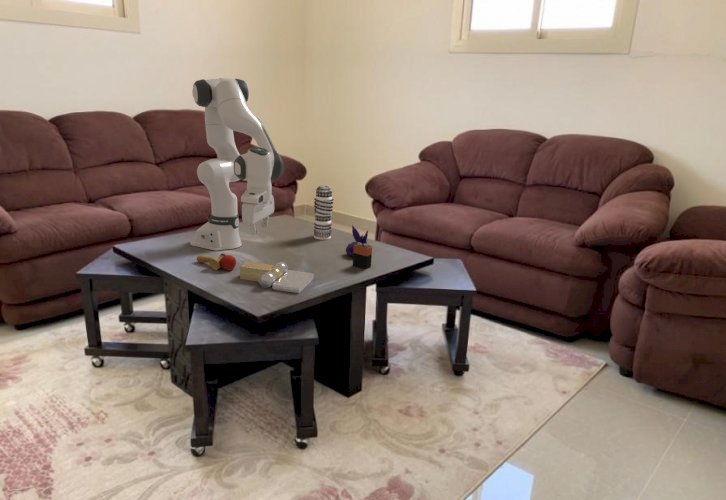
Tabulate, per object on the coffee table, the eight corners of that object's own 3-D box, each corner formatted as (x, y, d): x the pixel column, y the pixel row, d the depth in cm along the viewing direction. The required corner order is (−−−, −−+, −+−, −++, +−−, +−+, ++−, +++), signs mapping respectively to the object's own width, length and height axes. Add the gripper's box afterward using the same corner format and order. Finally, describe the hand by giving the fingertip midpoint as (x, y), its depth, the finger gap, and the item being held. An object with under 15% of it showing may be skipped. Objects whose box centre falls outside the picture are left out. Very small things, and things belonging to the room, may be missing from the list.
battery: (365, 269, 215) (367, 246, 212) (352, 265, 218) (353, 242, 215) (371, 266, 218) (372, 243, 215) (357, 263, 222) (359, 240, 219)
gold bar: (277, 284, 194) (277, 271, 192) (240, 278, 197) (240, 266, 195) (283, 279, 199) (283, 266, 198) (247, 273, 203) (247, 261, 201)
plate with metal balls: (299, 293, 187) (299, 280, 185) (258, 287, 190) (258, 274, 189) (313, 278, 202) (314, 266, 200) (276, 272, 205) (276, 260, 204)
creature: (375, 250, 240) (377, 224, 236) (358, 261, 224) (360, 233, 220) (357, 247, 243) (359, 221, 240) (339, 257, 228) (341, 230, 224)
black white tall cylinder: (331, 240, 251) (333, 189, 243) (312, 239, 250) (313, 187, 243) (332, 235, 259) (334, 185, 252) (313, 234, 259) (315, 184, 252)
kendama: (191, 268, 208) (227, 271, 200) (191, 252, 208) (227, 255, 200) (205, 266, 215) (240, 269, 207) (205, 251, 215) (240, 253, 207)
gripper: (263, 187, 199) (263, 222, 203) (238, 198, 180) (238, 236, 184) (278, 189, 197) (278, 224, 202) (255, 200, 178) (255, 238, 183)
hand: (259, 230), depth 193 cm, fingers open, 8 cm apart
